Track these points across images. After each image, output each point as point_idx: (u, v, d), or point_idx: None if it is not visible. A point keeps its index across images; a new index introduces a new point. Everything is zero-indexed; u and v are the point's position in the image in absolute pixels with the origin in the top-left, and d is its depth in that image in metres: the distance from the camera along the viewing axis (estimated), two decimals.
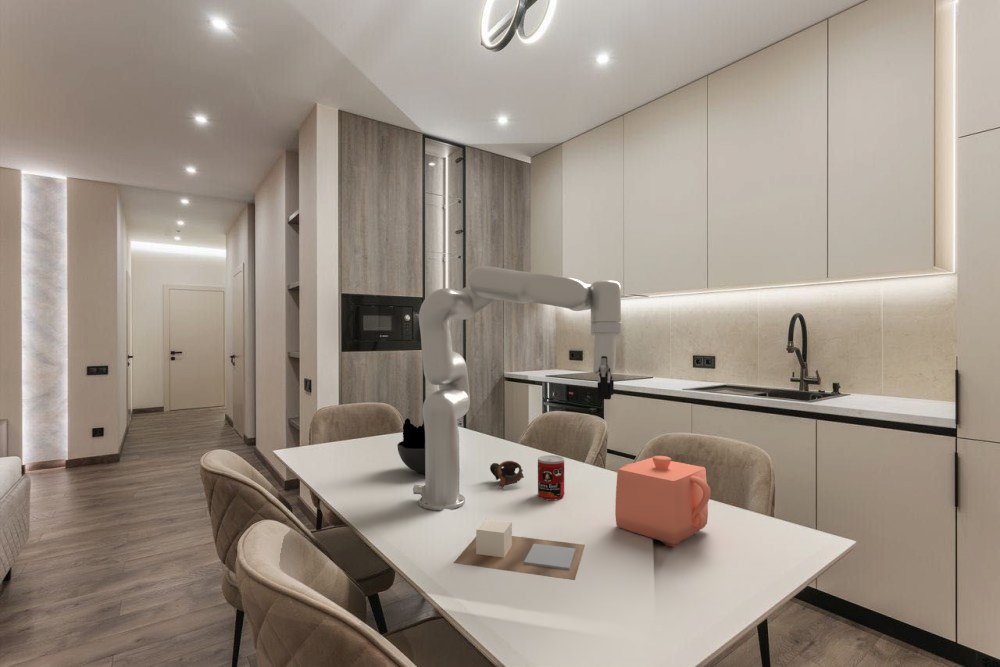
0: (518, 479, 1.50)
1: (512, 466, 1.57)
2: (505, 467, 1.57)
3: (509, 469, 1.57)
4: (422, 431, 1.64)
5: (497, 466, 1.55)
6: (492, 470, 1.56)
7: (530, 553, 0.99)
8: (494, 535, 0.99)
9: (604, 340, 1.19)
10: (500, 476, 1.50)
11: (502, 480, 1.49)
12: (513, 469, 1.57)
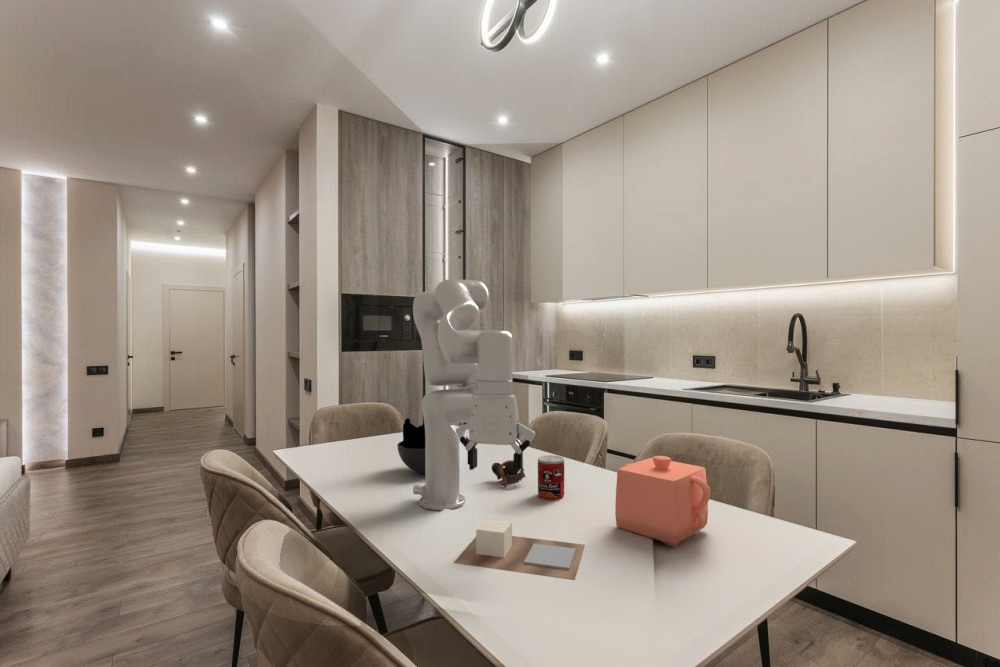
0: (520, 478, 1.50)
1: (513, 466, 1.57)
2: (506, 467, 1.57)
3: (510, 469, 1.58)
4: (422, 431, 1.64)
5: (499, 466, 1.55)
6: (494, 470, 1.57)
7: (530, 553, 0.99)
8: (494, 535, 0.99)
9: (516, 402, 1.01)
10: (502, 476, 1.51)
11: (504, 480, 1.50)
12: None
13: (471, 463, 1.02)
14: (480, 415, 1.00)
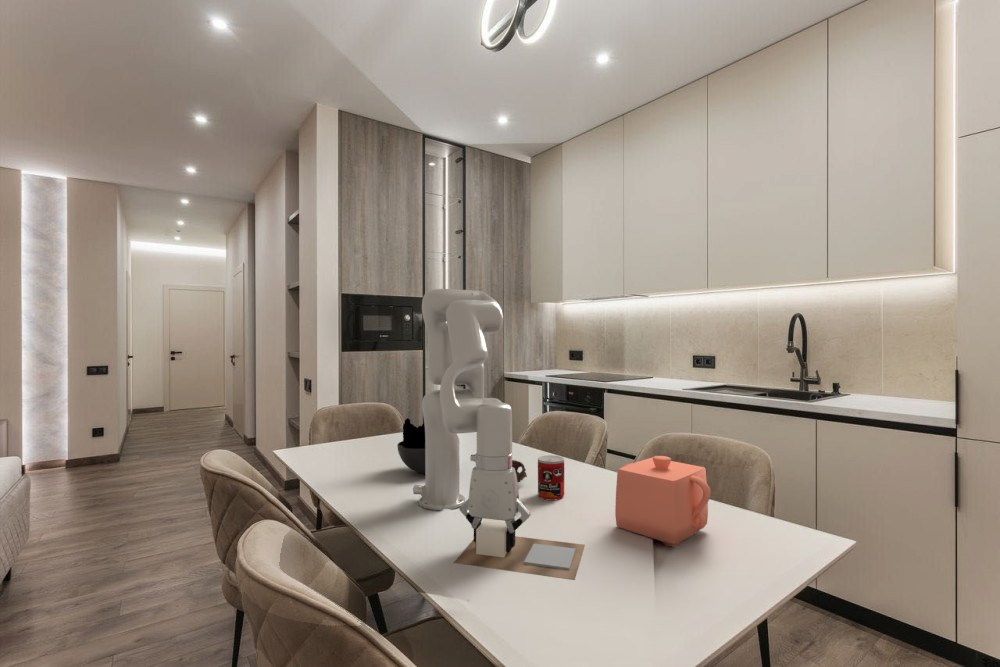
0: (521, 478, 1.51)
1: (515, 465, 1.58)
2: None
3: None
4: (422, 431, 1.64)
5: None
6: None
7: (530, 553, 0.99)
8: (494, 535, 0.99)
9: (515, 476, 1.01)
10: None
11: None
12: (516, 468, 1.58)
13: None
14: (480, 489, 1.00)
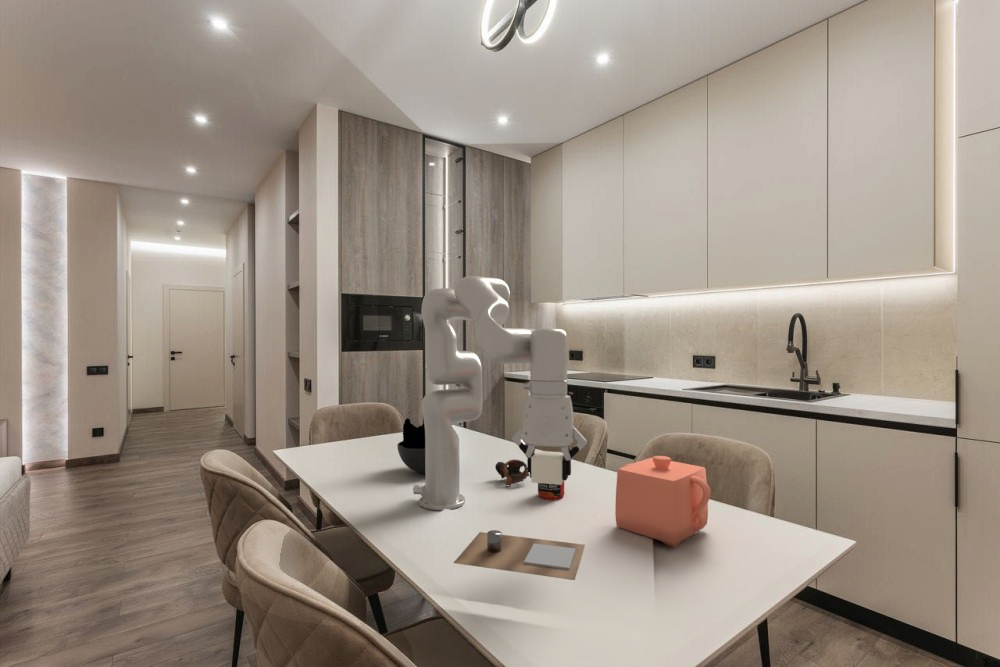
0: (524, 477, 1.52)
1: (517, 465, 1.58)
2: (510, 466, 1.58)
3: (514, 468, 1.59)
4: (422, 431, 1.64)
5: (503, 465, 1.56)
6: (497, 469, 1.58)
7: (530, 553, 0.99)
8: (550, 462, 0.96)
9: (571, 403, 0.98)
10: (506, 475, 1.52)
11: (508, 478, 1.51)
12: (518, 468, 1.59)
13: None
14: (535, 416, 0.97)
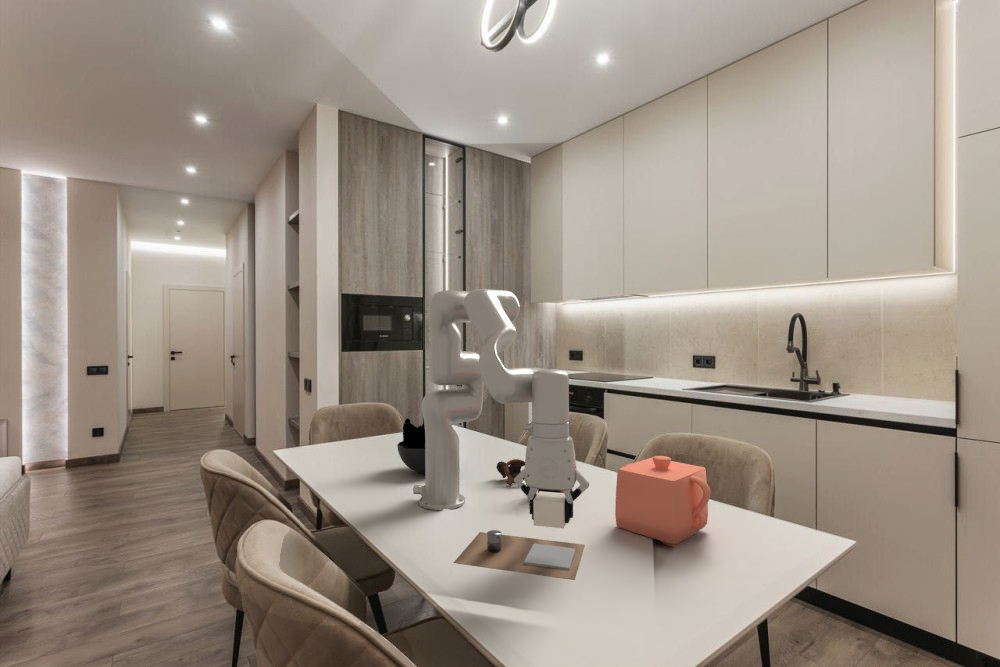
0: None
1: (518, 464, 1.59)
2: (511, 465, 1.59)
3: (515, 467, 1.59)
4: (422, 431, 1.64)
5: (504, 464, 1.57)
6: (499, 468, 1.58)
7: (530, 553, 0.99)
8: (553, 505, 0.95)
9: (573, 445, 0.98)
10: (507, 474, 1.52)
11: (509, 478, 1.51)
12: (519, 467, 1.59)
13: None
14: (537, 459, 0.97)
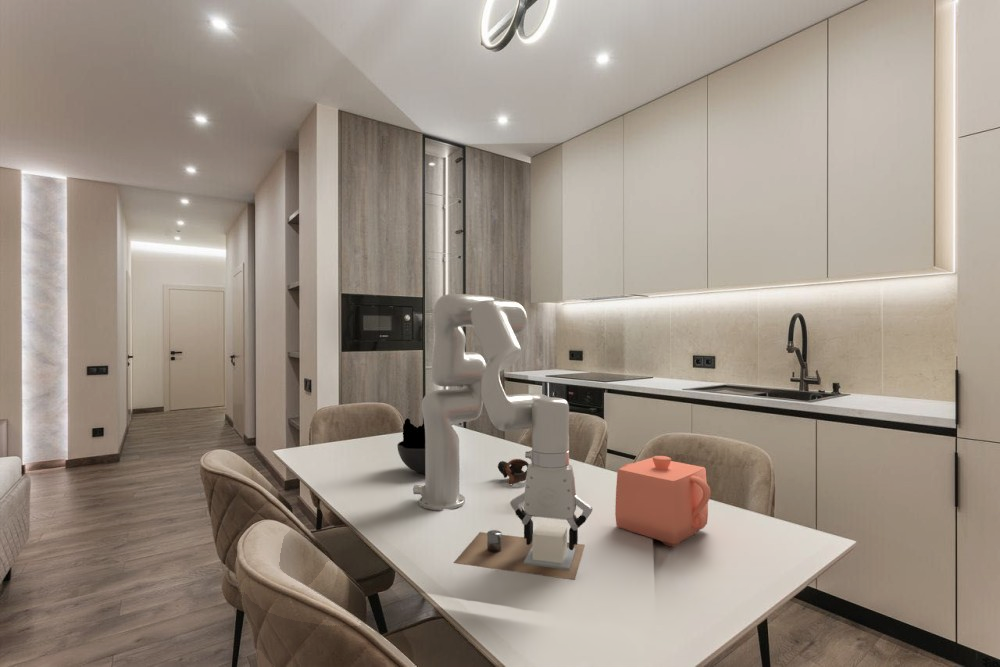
0: None
1: (519, 464, 1.59)
2: (513, 465, 1.59)
3: (516, 467, 1.60)
4: (422, 431, 1.64)
5: (505, 464, 1.57)
6: (500, 468, 1.59)
7: (530, 553, 0.99)
8: (552, 540, 0.95)
9: (573, 474, 0.98)
10: (509, 474, 1.53)
11: (511, 478, 1.52)
12: (520, 467, 1.60)
13: (528, 538, 0.98)
14: (536, 487, 0.97)
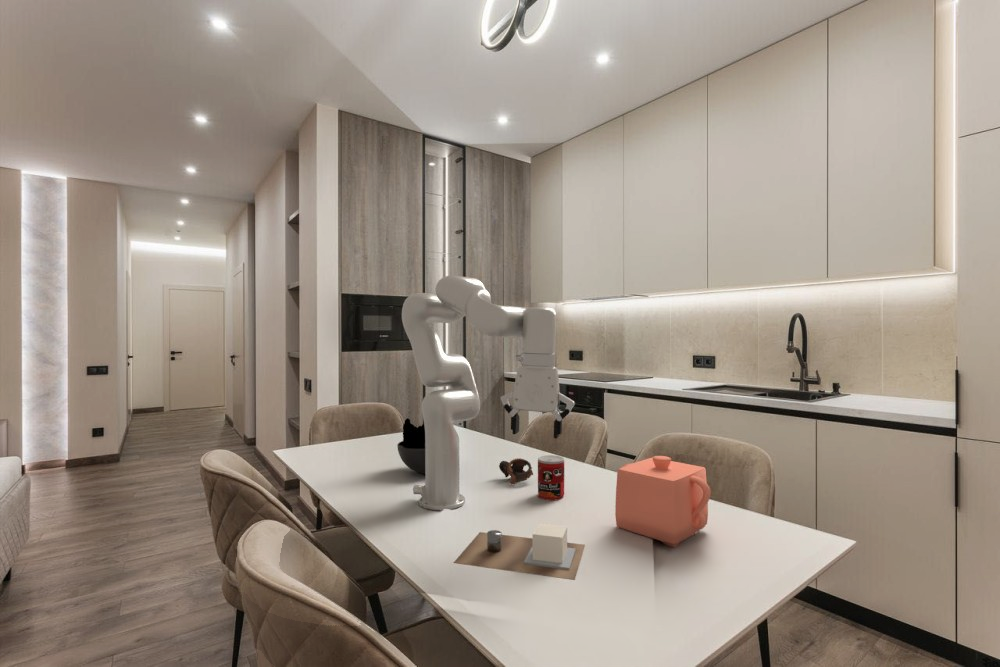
0: (528, 476, 1.53)
1: (521, 464, 1.60)
2: (514, 465, 1.60)
3: (518, 467, 1.60)
4: (422, 431, 1.64)
5: (506, 464, 1.58)
6: (501, 468, 1.59)
7: (530, 553, 0.99)
8: (552, 540, 0.95)
9: (557, 374, 1.10)
10: (510, 473, 1.53)
11: (513, 477, 1.52)
12: (522, 466, 1.60)
13: (514, 428, 1.11)
14: (524, 384, 1.09)
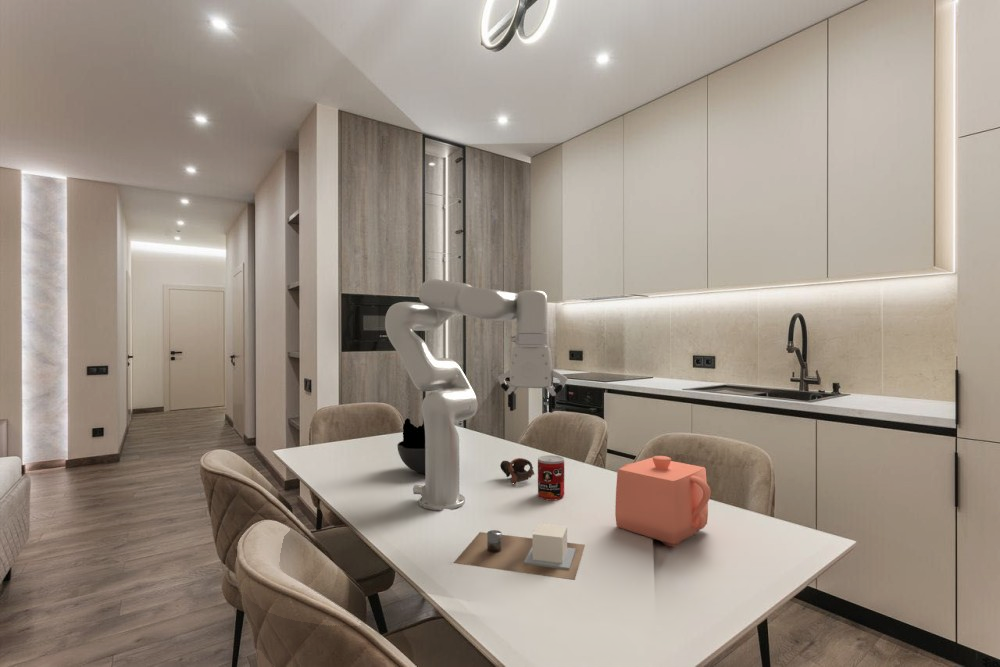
0: (529, 476, 1.53)
1: (522, 463, 1.60)
2: (515, 464, 1.60)
3: (519, 466, 1.61)
4: (422, 431, 1.64)
5: (508, 463, 1.58)
6: (502, 467, 1.59)
7: (530, 553, 0.99)
8: (552, 540, 0.95)
9: (550, 352, 1.17)
10: (512, 473, 1.53)
11: (514, 477, 1.53)
12: (523, 466, 1.61)
13: (511, 405, 1.18)
14: (520, 363, 1.17)
